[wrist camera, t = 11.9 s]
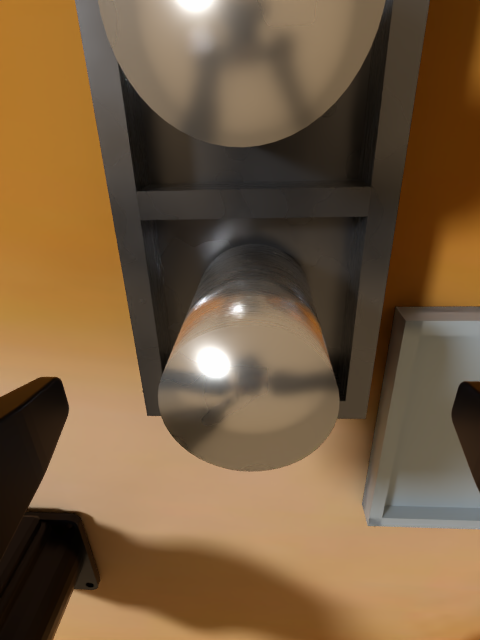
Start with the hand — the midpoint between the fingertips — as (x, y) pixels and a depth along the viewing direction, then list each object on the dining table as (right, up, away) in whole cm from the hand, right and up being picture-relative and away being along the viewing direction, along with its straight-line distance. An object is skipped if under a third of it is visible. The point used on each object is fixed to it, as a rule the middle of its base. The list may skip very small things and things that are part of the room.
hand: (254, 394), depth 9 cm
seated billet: (0, +9, +2) cm, 9 cm away
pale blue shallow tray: (+10, -3, +8) cm, 14 cm away
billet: (0, +2, +5) cm, 6 cm away
